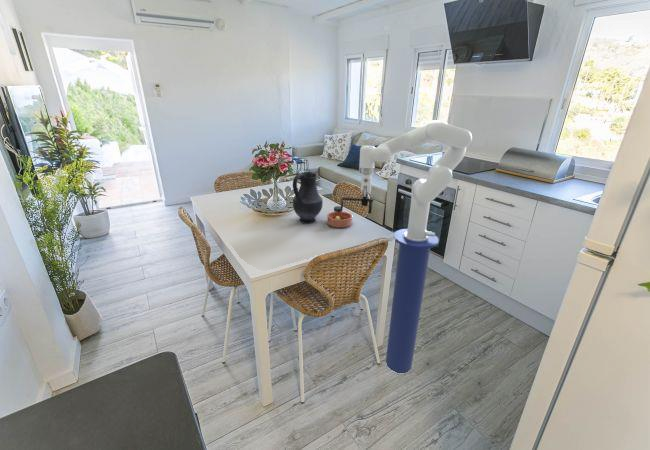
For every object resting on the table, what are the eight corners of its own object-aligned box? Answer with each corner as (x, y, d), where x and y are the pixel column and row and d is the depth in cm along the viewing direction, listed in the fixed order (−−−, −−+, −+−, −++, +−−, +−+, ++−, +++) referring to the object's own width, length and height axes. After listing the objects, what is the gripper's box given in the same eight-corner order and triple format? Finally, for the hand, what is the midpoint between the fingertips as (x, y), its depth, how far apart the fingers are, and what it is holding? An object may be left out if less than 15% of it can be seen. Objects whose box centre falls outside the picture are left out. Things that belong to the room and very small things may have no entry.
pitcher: (327, 219, 191) (328, 170, 179) (307, 230, 175) (306, 178, 163) (304, 213, 200) (304, 166, 188) (283, 223, 184) (281, 173, 172)
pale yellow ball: (340, 220, 189) (340, 215, 188) (339, 222, 186) (339, 217, 185) (335, 219, 189) (335, 215, 188) (334, 221, 186) (334, 216, 185)
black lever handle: (372, 211, 169) (373, 197, 166) (372, 214, 165) (373, 200, 162) (334, 209, 172) (334, 195, 170) (333, 211, 168) (333, 198, 165)
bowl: (352, 220, 191) (353, 212, 189) (350, 229, 177) (350, 221, 176) (329, 218, 193) (329, 210, 191) (325, 227, 180) (325, 219, 178)
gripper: (373, 174, 152) (371, 210, 159) (374, 167, 166) (372, 201, 173) (358, 173, 153) (356, 209, 160) (360, 167, 167) (358, 200, 174)
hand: (364, 204), depth 166 cm, fingers closed on black lever handle, 1 cm apart
